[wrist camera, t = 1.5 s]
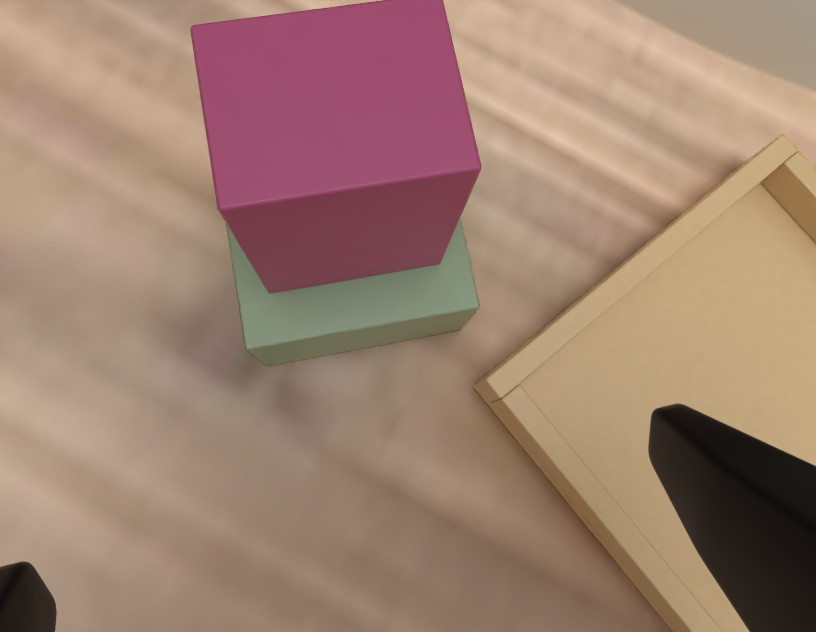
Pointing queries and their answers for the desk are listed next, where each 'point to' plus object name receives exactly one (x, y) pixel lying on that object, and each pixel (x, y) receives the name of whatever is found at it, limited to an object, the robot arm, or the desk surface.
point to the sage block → (354, 307)
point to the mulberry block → (337, 138)
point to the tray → (676, 370)
